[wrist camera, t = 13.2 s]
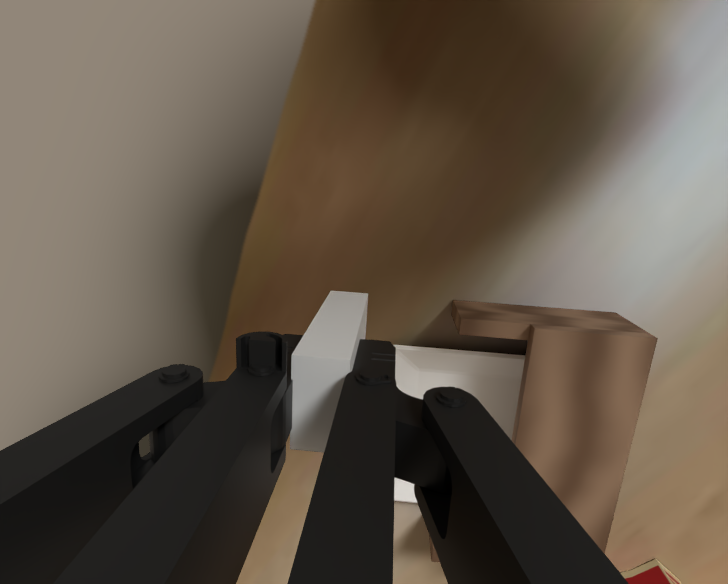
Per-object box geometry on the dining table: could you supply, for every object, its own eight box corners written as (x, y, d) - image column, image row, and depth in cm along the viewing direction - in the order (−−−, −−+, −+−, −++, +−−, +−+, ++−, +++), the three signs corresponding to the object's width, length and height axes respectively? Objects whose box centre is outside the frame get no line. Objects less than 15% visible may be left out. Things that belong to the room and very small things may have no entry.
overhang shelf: (427, 517, 51) (432, 571, 44) (453, 300, 44) (463, 322, 37) (567, 532, 50) (595, 590, 43) (615, 312, 43) (657, 338, 36)
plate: (379, 488, 50) (378, 500, 48) (391, 338, 46) (391, 345, 44) (542, 505, 49) (548, 518, 47) (572, 352, 45) (580, 361, 43)
